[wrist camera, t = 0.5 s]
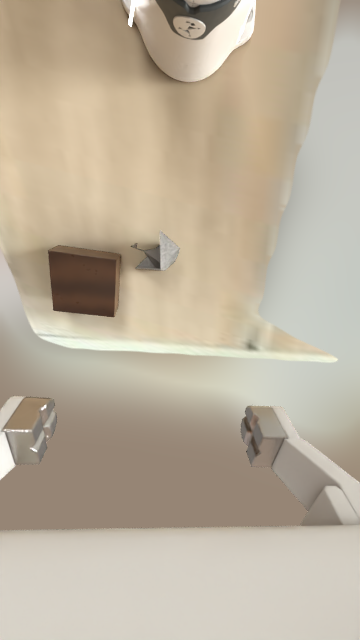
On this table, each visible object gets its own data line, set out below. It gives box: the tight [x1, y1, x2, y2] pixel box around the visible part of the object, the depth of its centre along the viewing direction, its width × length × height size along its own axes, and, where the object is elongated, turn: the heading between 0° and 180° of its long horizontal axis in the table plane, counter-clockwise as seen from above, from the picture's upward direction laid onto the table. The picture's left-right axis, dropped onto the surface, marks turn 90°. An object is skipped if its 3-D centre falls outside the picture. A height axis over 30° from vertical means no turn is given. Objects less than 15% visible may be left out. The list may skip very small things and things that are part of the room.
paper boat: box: [131, 231, 180, 271], centre depth 47 cm, size 12×6×9 cm
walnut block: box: [48, 245, 121, 317], centre depth 49 cm, size 12×12×5 cm
